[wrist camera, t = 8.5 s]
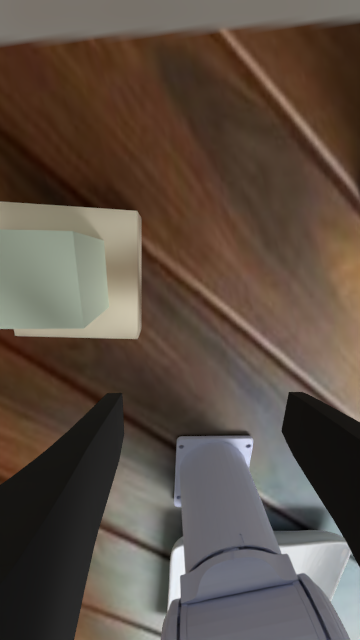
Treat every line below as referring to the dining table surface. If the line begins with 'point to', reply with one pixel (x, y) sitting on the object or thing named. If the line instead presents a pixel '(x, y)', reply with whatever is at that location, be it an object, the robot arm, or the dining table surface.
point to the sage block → (51, 279)
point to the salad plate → (305, 554)
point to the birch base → (119, 254)
